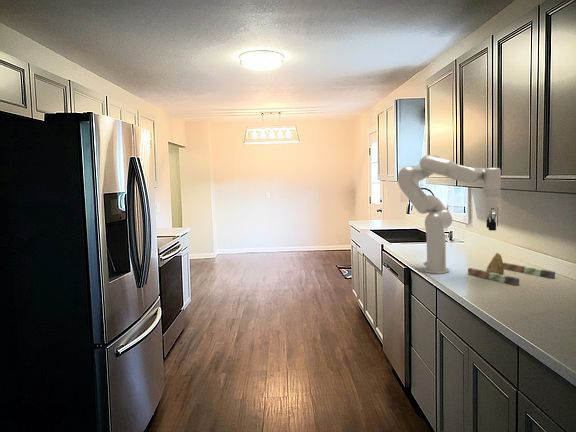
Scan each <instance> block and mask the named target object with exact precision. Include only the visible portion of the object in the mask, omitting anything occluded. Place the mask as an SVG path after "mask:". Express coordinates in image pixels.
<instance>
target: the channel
mask: <svg viewBox="0 0 576 432" xmlns="http://www.w3.org/2000/svg"><path fill="white" fill-rule="evenodd" d="M503 268H504V270H507V271H512V272H517V273H522V274H527V275H531V276H537V277H542V278H546V279H556V271H551V270H547V269H540V268H536V267H530V266H525V265H520V264H515V263H508V262H503ZM467 274H468V275H470V276H475V277H479V278H483V279H486V280H490V281H495V282H500V283H504V284H508V285H512V286H515V287H516V286H520V278H518V277H515V276H509V275H504V274H503V275H501V274H496V273H491V272H488V271H486V270H482V269H476V268H473V267H469V268H468V269H467Z"/></svg>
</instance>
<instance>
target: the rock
mask: <svg viewBox="0 0 576 432" xmlns="http://www.w3.org/2000/svg"><path fill="white" fill-rule="evenodd" d="M502 258H503V257H502V255H501V254H500V253H497V252H496V253H495V255H493V257H492V258H491V260H490V262H489V263H488V264H487V268H486V270H485V271H487V272H491V273H496V274H501V275H504V272H505V271H504V270H505V269H504V268H503V263H504V262H503V259H502Z"/></svg>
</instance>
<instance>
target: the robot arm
mask: <svg viewBox="0 0 576 432" xmlns="http://www.w3.org/2000/svg"><path fill="white" fill-rule="evenodd" d="M433 174H435V175H440V176H443V177H446V178H448V179H451V180H454V181H458V182H462V183H466V184H480V183H483V185H482V186H483V187H482V188H483V190H482V193H483V195H482V197H483V198H484V217H485V218H486V228H488V231H497V217H498V209H499V208H498V204H499V203H498V202H499V201H498V200H499V199H498V197H499V198H500V197H501V186H502V185H501V182H502V179H501V178H502V170H501V168H499V167H486V168H484V167H468V166H465V165H461V164H458V163H455V162H454V160H451V159H447V158H443V157H440V156H439V155H435V154H434V155H433V154H427V155H423V157H422V158H421V159H420V160H419V164H418V165H407V166H404V167H402V168H401V169H400V170H399V172H398V174H397V183H398V187H399V189H400V190H401V191H402V193H404V195H405V196H406V198H407V199H408V200H409V202H410V203H411V204H412V205H413V207H414V208H415V210H416V211H417V212H418V213H419V214H422V215H425V214H426V217H425V218H424V228H425V233H426V234H425V236H426V261H425V262H423V263H422V265H423V266H425V268H424V269H423V272H424V273H427V274H437V275H438V274H439V275H440V274H448V273H449V272H450V268H447V258H446V257H447V256H446V255H447V249H446V247H447V246H446V244H447V243H446V233H445V230H444V229H446V228H447V229H448V227H450V226H451V225H452V224H453V216H452V213H450V212H449V210H448V209H447V208H446V206H445V205H444V204H443V203H442V201H441V200H440V199H439V198H438V197H437V196H435V195H430V194H429V195H428V194H426V193H425V192H424V191H423V190H422V188H421V187H420V186H419V185H418V184H417V183H416V182H420V181H423V180H424V179H427V178H428V177H430V176H432V175H433Z"/></svg>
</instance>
